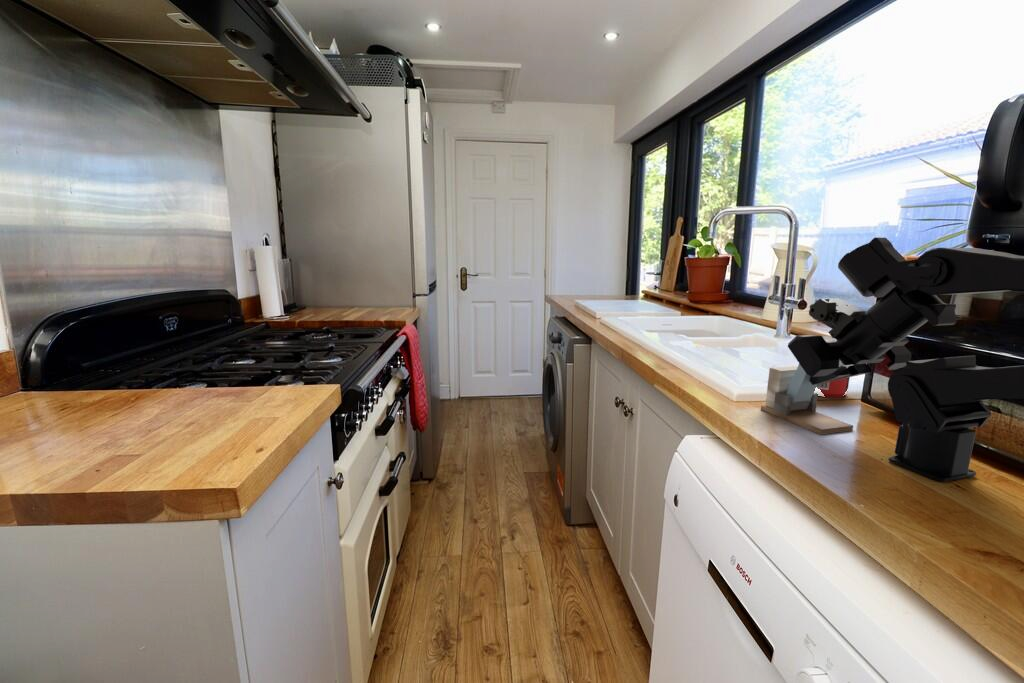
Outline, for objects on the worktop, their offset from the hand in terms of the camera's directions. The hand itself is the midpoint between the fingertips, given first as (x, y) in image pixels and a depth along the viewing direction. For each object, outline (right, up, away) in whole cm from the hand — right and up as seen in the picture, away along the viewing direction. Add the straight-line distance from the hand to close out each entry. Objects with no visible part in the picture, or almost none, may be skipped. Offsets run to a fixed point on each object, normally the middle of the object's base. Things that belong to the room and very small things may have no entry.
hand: (812, 382), depth 77 cm
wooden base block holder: (0, -6, +2) cm, 7 cm away
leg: (-1, -4, +3) cm, 5 cm away
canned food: (+13, -4, +17) cm, 22 cm away
